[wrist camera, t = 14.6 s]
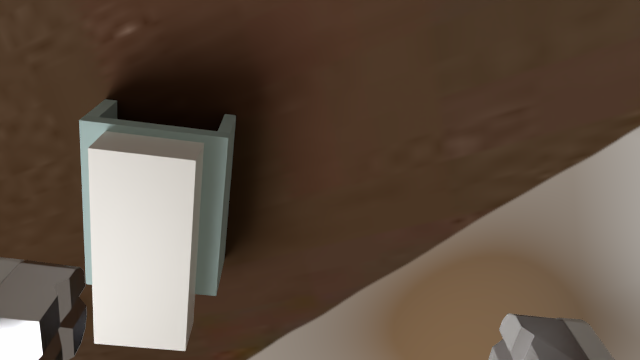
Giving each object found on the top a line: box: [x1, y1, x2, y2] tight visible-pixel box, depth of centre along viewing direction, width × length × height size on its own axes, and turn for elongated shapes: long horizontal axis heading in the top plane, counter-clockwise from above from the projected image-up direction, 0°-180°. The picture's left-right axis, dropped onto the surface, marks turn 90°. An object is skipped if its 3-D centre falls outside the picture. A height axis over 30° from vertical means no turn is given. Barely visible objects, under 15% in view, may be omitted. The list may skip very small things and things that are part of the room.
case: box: [79, 99, 236, 296], centre depth 37 cm, size 9×12×5 cm
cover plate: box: [88, 131, 204, 351], centre depth 34 cm, size 6×14×3 cm, turn 172°
